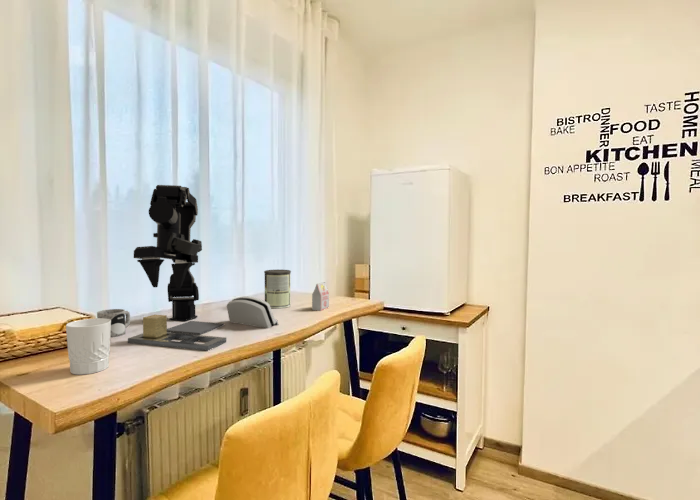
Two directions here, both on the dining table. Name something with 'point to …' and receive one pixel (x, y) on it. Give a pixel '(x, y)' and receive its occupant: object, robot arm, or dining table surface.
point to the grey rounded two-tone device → (251, 312)
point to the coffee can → (277, 288)
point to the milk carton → (320, 297)
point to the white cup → (88, 345)
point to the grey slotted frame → (185, 343)
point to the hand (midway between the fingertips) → (167, 287)
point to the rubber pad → (194, 327)
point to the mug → (116, 320)
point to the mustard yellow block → (155, 326)
